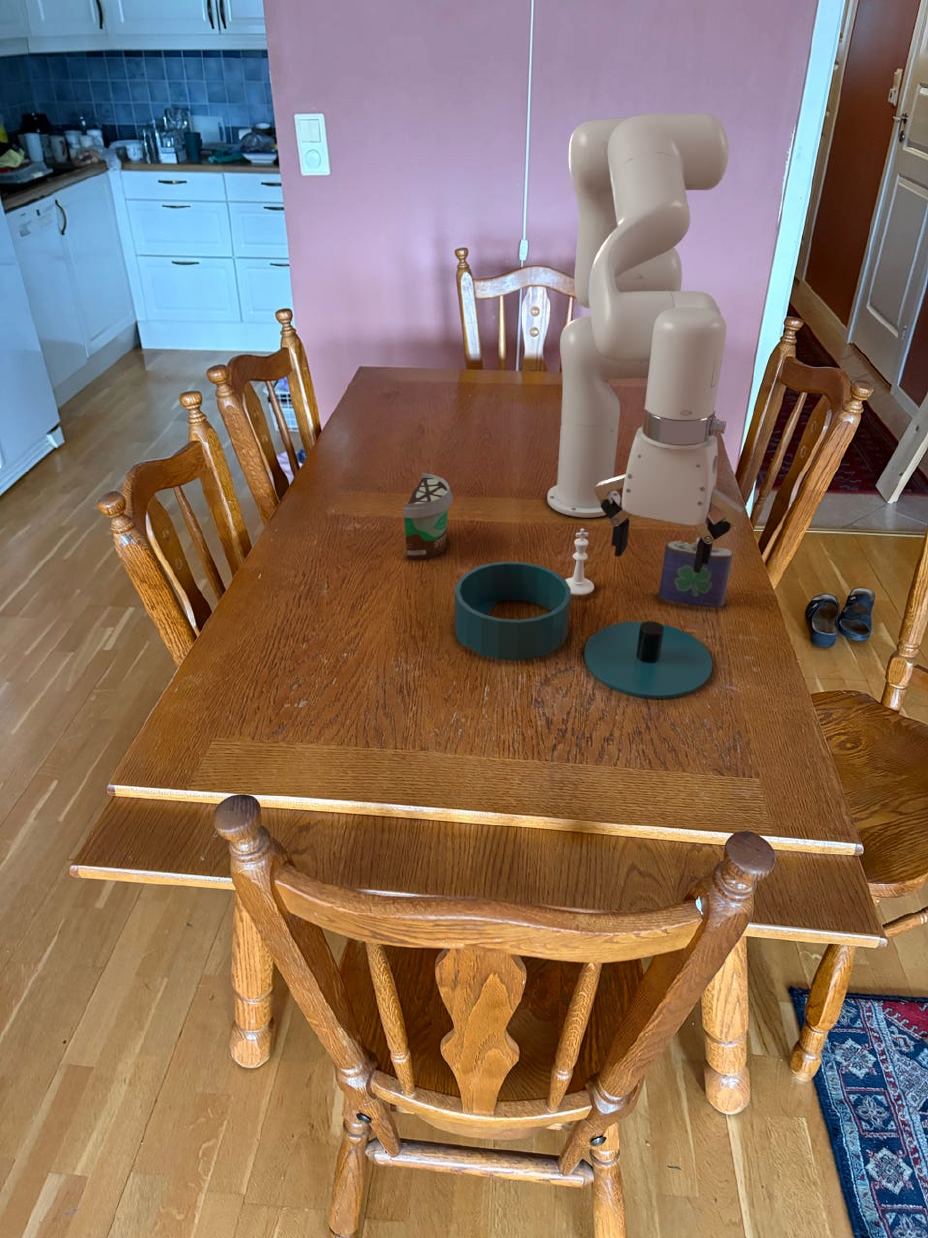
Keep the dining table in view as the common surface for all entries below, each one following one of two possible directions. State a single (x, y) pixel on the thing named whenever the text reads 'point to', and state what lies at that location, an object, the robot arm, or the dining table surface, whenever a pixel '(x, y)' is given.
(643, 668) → the pot lid
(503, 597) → the pot
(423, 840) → the dining table surface
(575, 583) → the chess piece
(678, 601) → the flask
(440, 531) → the food container
